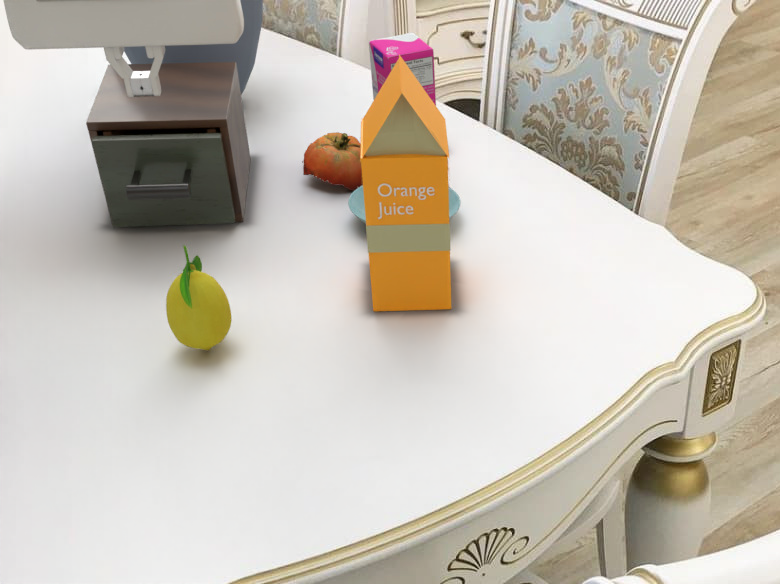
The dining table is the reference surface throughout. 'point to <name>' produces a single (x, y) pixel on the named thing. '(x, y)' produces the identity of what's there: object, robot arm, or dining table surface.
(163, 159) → the drawer
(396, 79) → the orange juice
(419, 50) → the supplement box
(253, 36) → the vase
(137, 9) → the robot arm
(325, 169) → the tomato
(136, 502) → the dining table surface
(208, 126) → the cabinet
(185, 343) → the lemon
